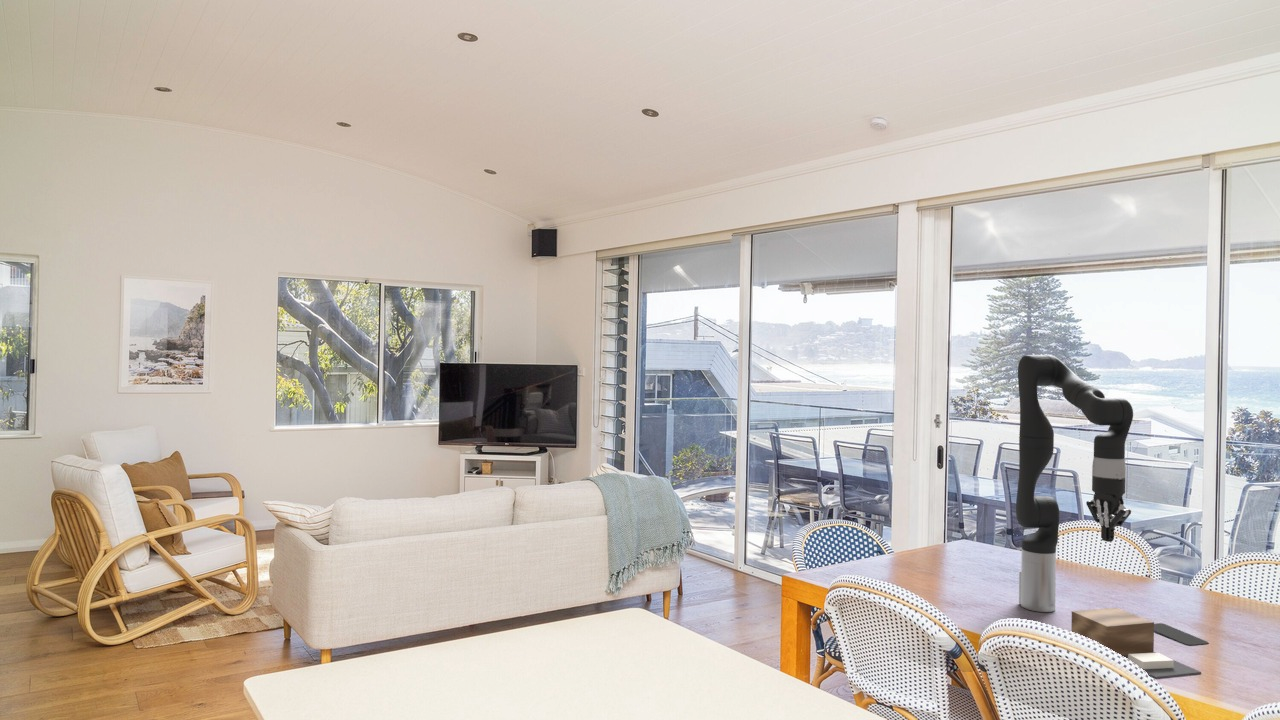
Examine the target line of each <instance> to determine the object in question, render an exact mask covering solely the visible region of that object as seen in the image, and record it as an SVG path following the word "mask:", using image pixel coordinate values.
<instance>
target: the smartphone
mask: <svg viewBox="0 0 1280 720" xmlns="http://www.w3.org/2000/svg"><path fill="white" fill-rule="evenodd" d="M1154 634H1158V635H1160V636H1161V637H1165V638H1167V639H1169V640H1172V641H1175V642H1177V643H1179V644H1181V645H1185V646H1190V647H1192V646H1203V645H1209V642H1208V641H1207V640H1205V639H1202V638H1199V637H1197V636H1196V635H1193V634H1191V633H1190V634H1189V632H1188V633H1187V632H1186V631H1183V630H1180V629H1177V628H1175V627H1173V626H1171V625H1168V624H1166V623H1161V622H1159V623H1158V622H1157V623H1154Z"/></svg>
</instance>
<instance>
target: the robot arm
mask: <svg viewBox="0 0 1280 720" xmlns="http://www.w3.org/2000/svg"><path fill="white" fill-rule="evenodd" d="M1017 385H1018V397H1019V436H1018V439H1019V440H1018V441H1019V443H1018V446H1019V447H1018V448H1019V449H1018V450H1019V451H1018V454H1019V456H1018V457H1019V459H1018V462H1019V465H1018V466H1019V467H1018V481H1017V490H1016V491H1017V493H1016V501H1015V514H1016V515H1015V516H1016V521H1017V522H1018V524H1019V525H1020V526H1021V527H1023V528H1030V529H1032V528H1035V529H1037V528H1038V529H1037V530H1036V531H1035V532H1034V533H1032V534H1030V535H1028V536H1026V537H1024V538H1022V540H1021V562H1020V563H1021V564H1020V565H1021V570H1020V572H1019V573H1018V604H1020V606H1021V607H1022V608H1024V609H1026V610H1030V611H1033V612H1038V613H1039V612H1040V613H1053V612H1055V611H1056V594H1057V593H1056V589H1057V588H1056V587H1057V585H1056V579H1057V577H1056V576H1057V575H1056V574H1057V573H1056V572H1057V545H1058V540H1059V530H1060V529H1059V527H1060V507H1059V503H1058V502H1057V500H1056V499H1055V498H1054V497H1052V496H1049V495H1048V496H1047V495H1037V496H1036V495H1035V489H1036V485H1037V483H1038V482H1037V481H1038V480H1039V478H1040V475H1042V473H1043V471H1044V470H1045V468H1046V467H1047V466H1048V464H1049V463H1050V461H1051V459H1052V457H1053V455H1054V447H1055V446H1054V445H1055V444H1054V443H1055V442H1054V441H1055V438H1054V437H1055V436H1054V435H1055V433H1054V429H1053V426H1052V424H1051V423H1050V421H1049V419H1048V417H1047V416H1046V414H1045V412H1044V411H1043V409H1042V407H1041V404H1040V401H1039V397H1038V387H1048V386H1049V387H1050V386H1054V387H1056V388H1061V390H1062V394H1063V396H1064V399H1065V400H1067V402H1068V403H1069V404H1071V405H1073V406H1074V407H1075V408H1077V409H1079V410H1080V411H1081V413H1082V414H1083V415H1084V416H1085V417H1086V419H1087V421H1089V423H1092V424H1094V425H1098V426H1109V427H1108V428H1107V431H1106V432H1104V433H1100V434H1097V435H1096V436H1095V437H1093V438H1094V439H1093V460H1092V465H1091V466H1092V468H1091V469H1092V471H1091V476H1092V478H1091V491H1092V492H1093V493H1094V495H1093V497H1092V500H1087V501H1086V507H1087V508H1088V510H1089V512H1090V514H1091V516H1092V519H1094V521H1095V523H1098V524H1099V526H1101V527H1100V528H1101V529H1100V531H1101V532H1100V535H1101V537H1100V538H1101V541H1103V542H1106V543H1107V542H1108V543H1109V542H1113V541H1114V539H1115V528H1116V527H1121V526H1122V525H1123V524H1124V523H1125V522H1126V520H1127V519H1128V518H1129V516H1131V514H1132V510H1131V509H1129V508H1128V509H1127V508H1126V507H1125V505H1124V503H1125V502H1124V499H1123V496H1124V495H1125V494H1126V473H1127V472H1126V470H1127V469H1126V461H1125V460H1126V459H1125V458H1126V457H1125V455H1126V454H1125V453H1126V451H1125V450H1126V449H1125V448H1126V446H1125V445H1126V442H1127V441H1126V440H1127V438H1128V436H1129V432H1130V429H1131V425H1132V422H1133V418H1134V409H1133V406H1132V404H1131V403H1130V402H1129V401H1128V400H1127V399H1125V398H1121V397H1119V398H1118V397H1117V398H1109V397H1108V398H1107V397H1105V394H1104V392H1102V391H1101V390H1100V389H1099V388H1098V387H1095V386H1094V385H1092V384H1091V383H1088V382H1087V381H1085V380H1083V379H1082V378H1081V377H1079V376H1078V375H1077V374H1075V373H1074V372H1073V370H1071V369H1070V368H1069V367H1068V366H1067V365H1066V364H1065V363H1064V362H1062V360H1060V359H1059V358H1058V357H1056V356H1054V355H1053V354H1052V355H1050V354H1026V355H1023V356H1022V357H1020V359H1019V362H1018V366H1017Z"/></svg>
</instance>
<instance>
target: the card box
mask: <svg viewBox="0 0 1280 720" xmlns="http://www.w3.org/2000/svg"><path fill="white" fill-rule="evenodd" d="M1128 659H1129V660H1131V661H1132V662H1134V663H1135V664H1137V665H1138V666H1139V667H1140V668H1142V669H1143V670H1147V669H1169V668H1174V659H1172V658H1170V657H1168V656H1165V655H1164V654H1162V653H1159V652H1156V653H1138V654H1128Z"/></svg>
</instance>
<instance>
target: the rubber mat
mask: <svg viewBox="0 0 1280 720" xmlns="http://www.w3.org/2000/svg"><path fill="white" fill-rule="evenodd" d="M1151 653H1157V652H1156V651H1154V652H1151ZM1122 656H1124V657H1126V658H1128V655H1122ZM1173 660H1174V659H1173ZM1145 671H1146V672H1147V673H1148V674H1150V675H1151V676H1150V677H1152V678H1154V679H1156V680H1157V679H1164V678H1172V677H1174V678H1175V677H1182V676H1192V675H1200V674H1202V671H1199V670H1198V669H1195V668H1193V667H1191V666H1189V665H1186V664H1184V663H1181V662H1179V661H1177V660H1174V668H1169V669H1147V670H1145Z"/></svg>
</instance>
